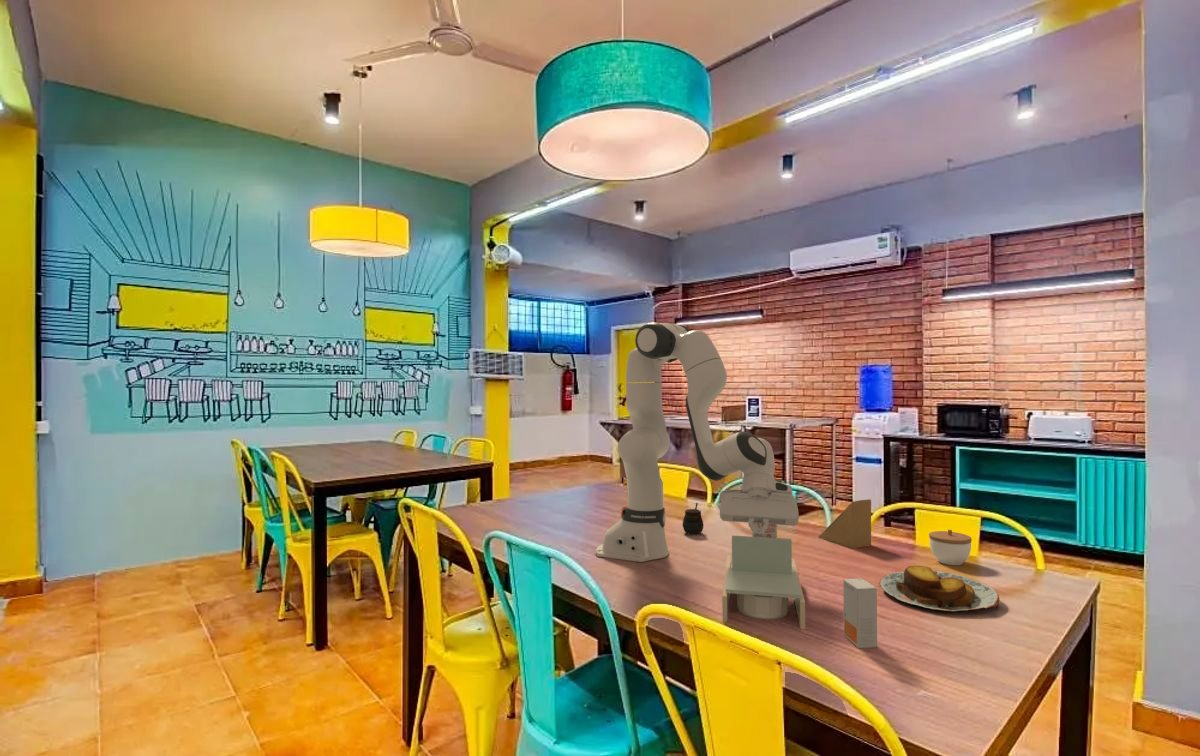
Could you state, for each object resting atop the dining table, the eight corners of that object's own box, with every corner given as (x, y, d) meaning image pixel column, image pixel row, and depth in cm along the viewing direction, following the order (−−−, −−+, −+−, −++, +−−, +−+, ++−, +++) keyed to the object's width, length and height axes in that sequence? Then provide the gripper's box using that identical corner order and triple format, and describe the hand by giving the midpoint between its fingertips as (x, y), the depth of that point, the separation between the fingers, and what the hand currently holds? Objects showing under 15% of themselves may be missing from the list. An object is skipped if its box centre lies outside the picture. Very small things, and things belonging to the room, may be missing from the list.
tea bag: (752, 542, 198) (752, 511, 198) (770, 540, 200) (770, 510, 200) (758, 544, 195) (758, 514, 195) (776, 543, 197) (776, 512, 197)
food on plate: (1025, 611, 139) (1024, 583, 139) (936, 623, 132) (936, 594, 132) (936, 576, 163) (936, 552, 163) (858, 585, 157) (858, 560, 157)
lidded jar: (931, 565, 172) (931, 532, 172) (927, 555, 182) (926, 524, 182) (975, 569, 168) (974, 536, 168) (967, 558, 178) (967, 527, 178)
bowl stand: (722, 621, 133) (722, 595, 133) (727, 575, 164) (727, 554, 164) (805, 629, 129) (805, 602, 129) (794, 580, 160) (794, 559, 160)
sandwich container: (835, 534, 207) (834, 491, 208) (872, 545, 194) (871, 499, 194) (816, 537, 204) (816, 493, 204) (852, 548, 190) (852, 501, 190)
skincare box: (842, 635, 125) (842, 578, 125) (862, 635, 126) (862, 577, 126) (857, 648, 119) (857, 588, 119) (878, 647, 120) (877, 587, 120)
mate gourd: (680, 535, 208) (680, 506, 208) (685, 529, 215) (684, 501, 215) (701, 536, 205) (701, 507, 205) (705, 531, 212) (705, 503, 212)
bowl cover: (725, 592, 134) (725, 553, 134) (728, 570, 150) (727, 535, 150) (801, 598, 130) (800, 558, 130) (795, 575, 146) (795, 539, 146)
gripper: (719, 482, 165) (717, 526, 155) (797, 486, 160) (800, 532, 150) (720, 495, 169) (717, 539, 160) (796, 500, 164) (798, 545, 155)
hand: (758, 536), depth 155 cm, fingers closed
